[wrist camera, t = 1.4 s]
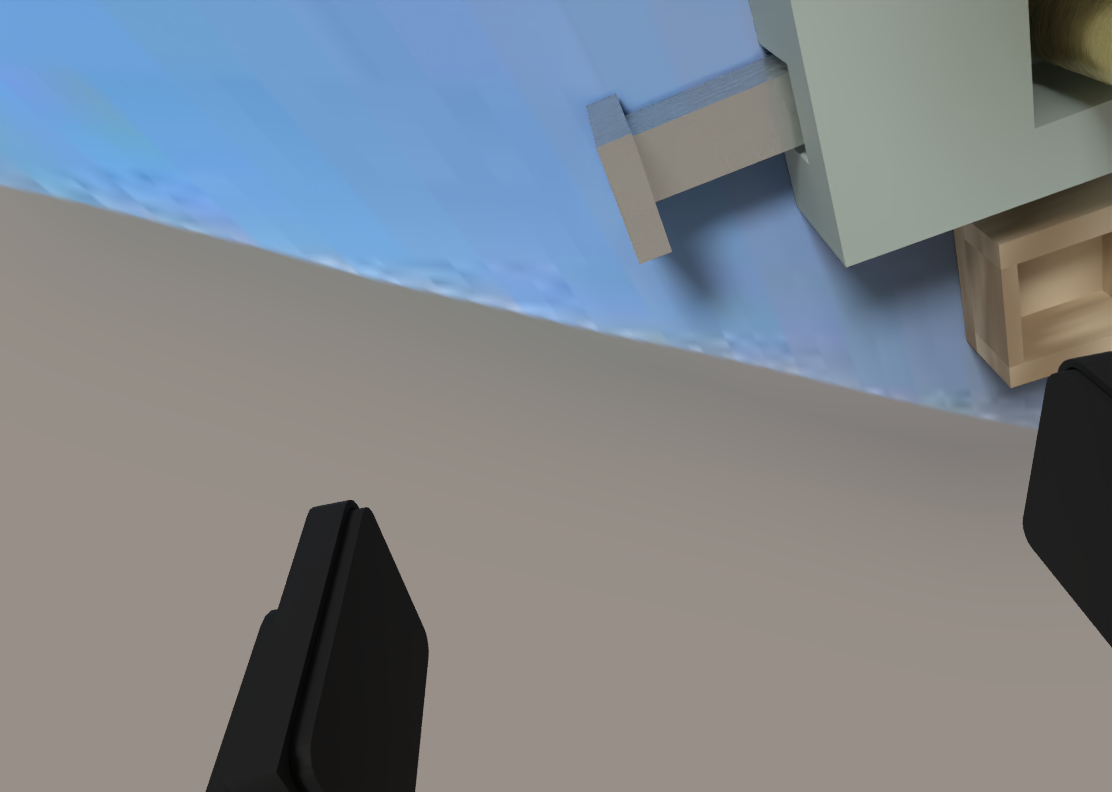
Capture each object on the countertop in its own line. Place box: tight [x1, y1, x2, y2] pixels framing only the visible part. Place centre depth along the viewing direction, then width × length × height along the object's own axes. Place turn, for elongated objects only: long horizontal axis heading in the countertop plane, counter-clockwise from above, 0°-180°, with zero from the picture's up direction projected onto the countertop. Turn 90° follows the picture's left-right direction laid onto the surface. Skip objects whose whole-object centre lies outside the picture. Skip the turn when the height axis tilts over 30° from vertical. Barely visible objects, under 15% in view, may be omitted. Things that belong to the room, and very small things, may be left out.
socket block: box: [749, 0, 1112, 267], centre depth 26 cm, size 14×10×6 cm
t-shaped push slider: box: [586, 54, 804, 264], centre depth 28 cm, size 8×4×5 cm, turn 112°
